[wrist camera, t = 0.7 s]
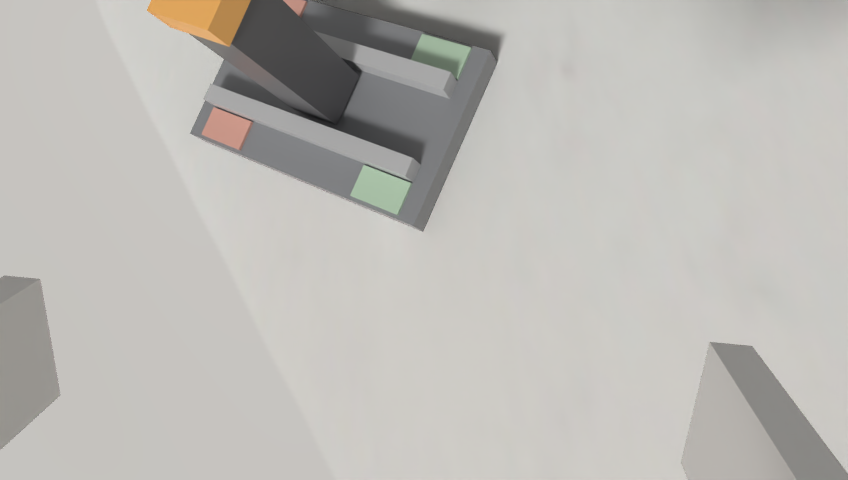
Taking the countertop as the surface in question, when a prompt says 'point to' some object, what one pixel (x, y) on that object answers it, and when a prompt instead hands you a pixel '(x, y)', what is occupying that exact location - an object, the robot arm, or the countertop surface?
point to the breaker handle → (268, 50)
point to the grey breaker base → (361, 115)
